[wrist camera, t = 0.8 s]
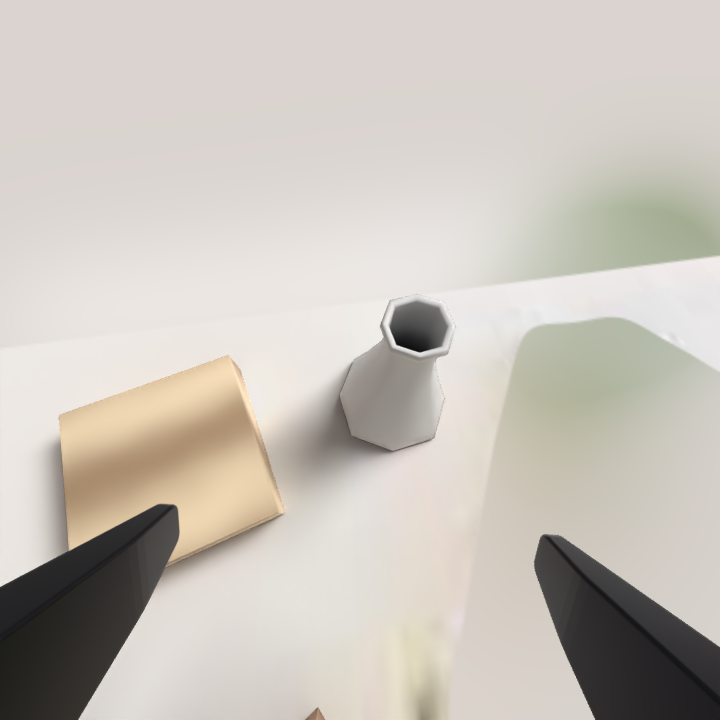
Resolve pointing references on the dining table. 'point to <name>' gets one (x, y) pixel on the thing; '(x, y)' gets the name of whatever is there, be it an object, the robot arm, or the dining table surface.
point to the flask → (400, 376)
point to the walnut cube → (316, 715)
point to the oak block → (170, 459)
